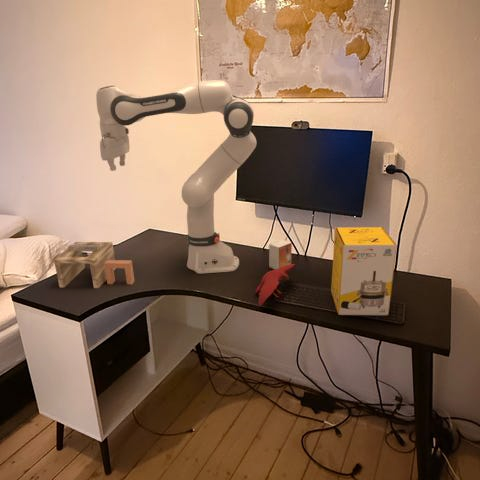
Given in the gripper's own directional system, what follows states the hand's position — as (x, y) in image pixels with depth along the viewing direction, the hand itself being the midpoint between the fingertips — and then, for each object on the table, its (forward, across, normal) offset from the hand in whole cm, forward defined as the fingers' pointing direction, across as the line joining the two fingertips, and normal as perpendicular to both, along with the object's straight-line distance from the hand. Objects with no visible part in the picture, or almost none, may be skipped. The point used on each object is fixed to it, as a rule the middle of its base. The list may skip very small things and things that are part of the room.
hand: (118, 168), depth 159 cm
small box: (+43, +3, -64) cm, 77 cm away
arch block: (+43, -14, -1) cm, 45 cm away
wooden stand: (+43, -11, +14) cm, 46 cm away
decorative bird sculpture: (+43, -22, -61) cm, 78 cm away
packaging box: (+43, -26, -91) cm, 104 cm away
